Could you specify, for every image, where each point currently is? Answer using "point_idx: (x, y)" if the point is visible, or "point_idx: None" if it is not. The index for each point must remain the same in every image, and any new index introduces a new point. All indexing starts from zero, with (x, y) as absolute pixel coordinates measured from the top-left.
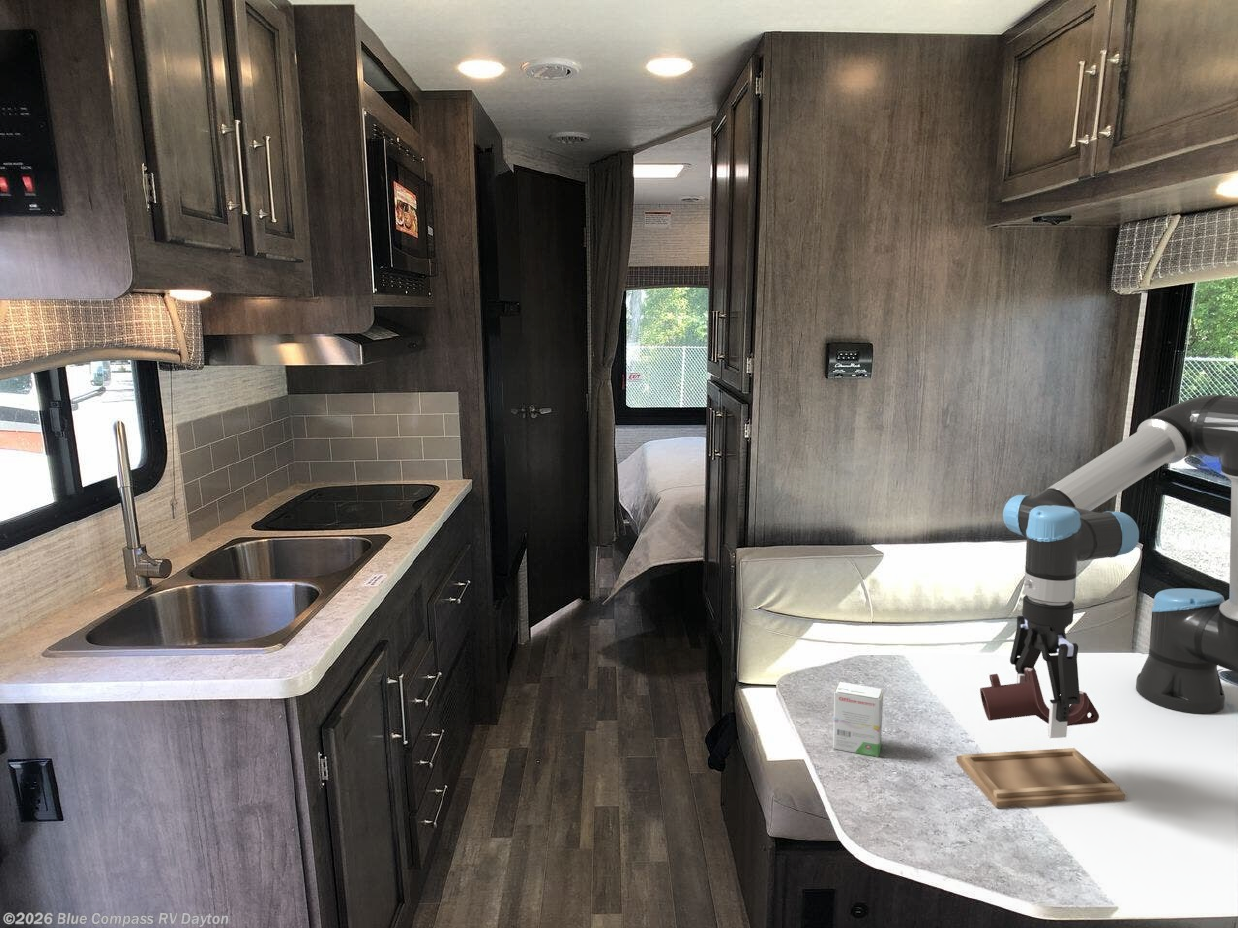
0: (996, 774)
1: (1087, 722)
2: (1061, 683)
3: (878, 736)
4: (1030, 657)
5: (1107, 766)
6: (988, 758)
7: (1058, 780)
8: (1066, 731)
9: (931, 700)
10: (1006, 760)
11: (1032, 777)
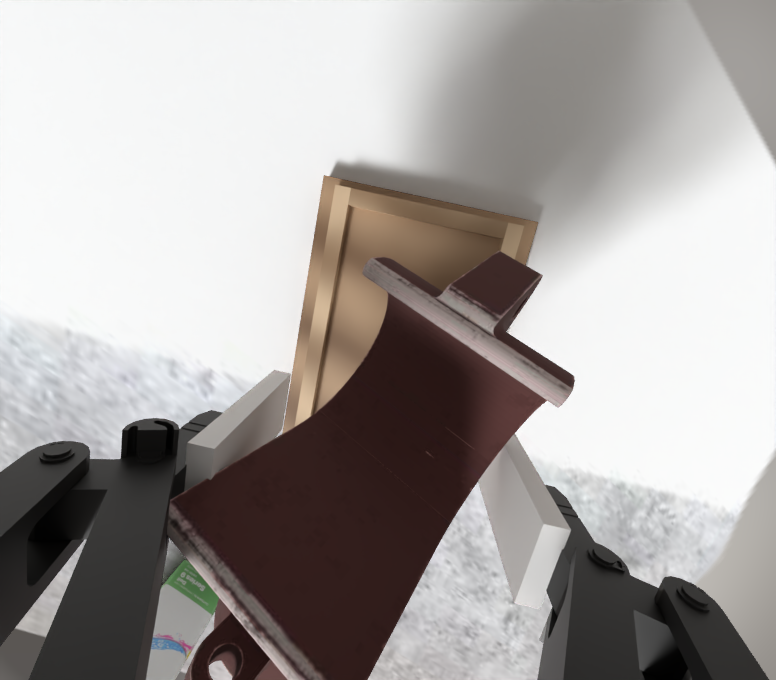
0: None
1: (512, 321)
2: None
3: (201, 633)
4: (148, 646)
5: (401, 132)
6: None
7: None
8: (514, 433)
9: (2, 333)
10: (323, 383)
11: None
